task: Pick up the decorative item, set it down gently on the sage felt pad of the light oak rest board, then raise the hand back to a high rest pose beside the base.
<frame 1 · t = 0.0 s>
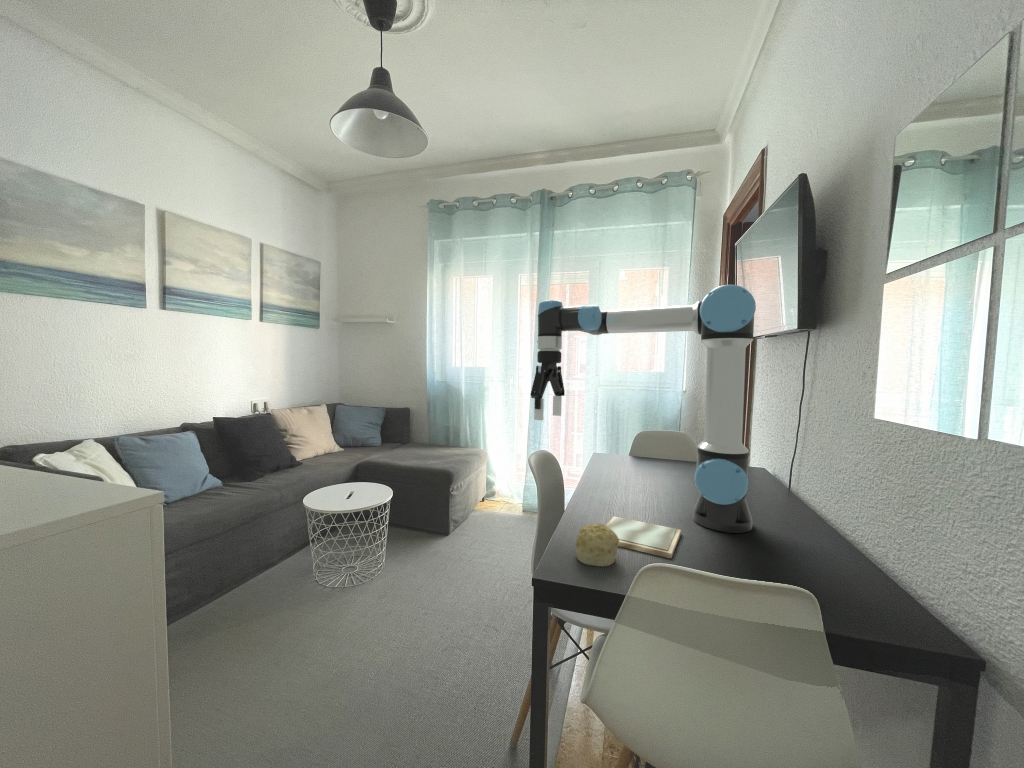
hand: (548, 417, 127), 28 cm above the table, fingers open, 13 cm apart
rest board: (639, 537, 104), on the table
decorative item: (596, 559, 93), on the table
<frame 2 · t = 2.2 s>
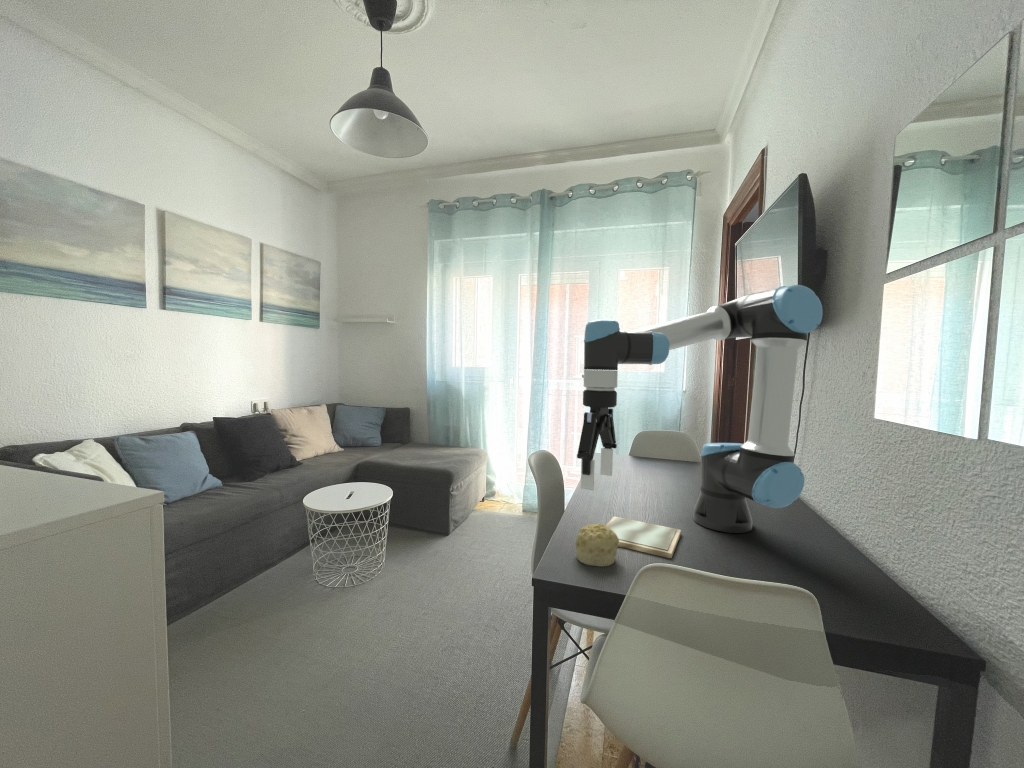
hand: (597, 481, 92), 18 cm above the table, fingers open, 13 cm apart
nothing on the table moved.
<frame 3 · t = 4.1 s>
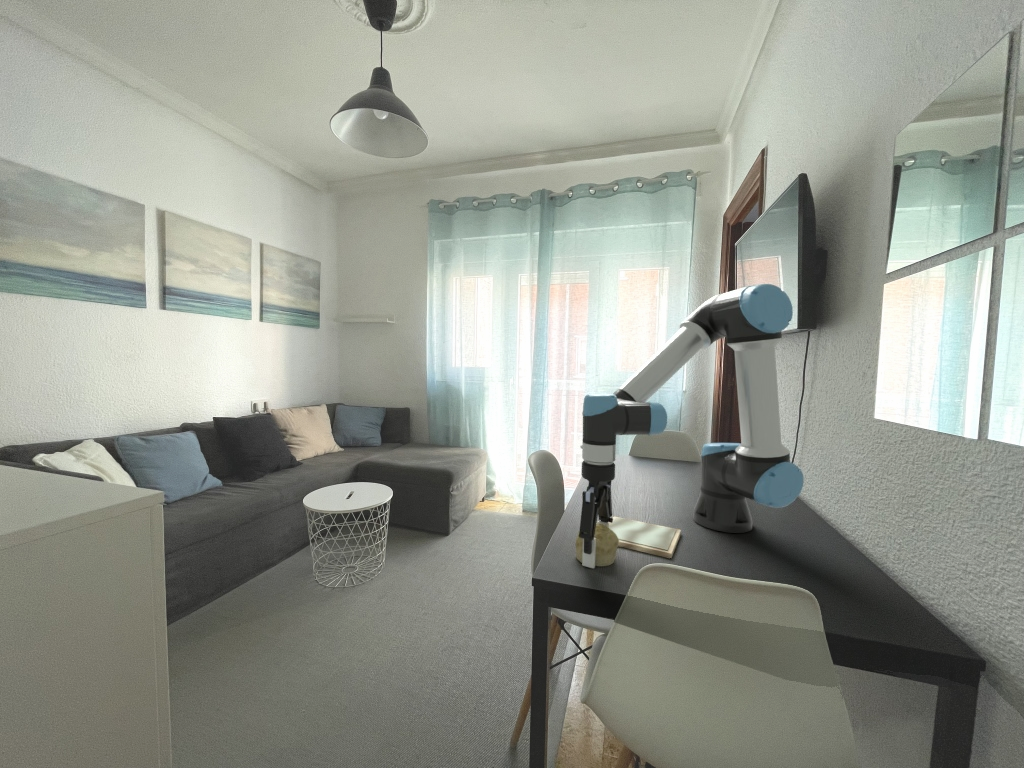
hand: (595, 557, 93), 0 cm above the table, fingers closed on decorative item, 9 cm apart
decorative item: (595, 559, 92), on the table, touching gripper
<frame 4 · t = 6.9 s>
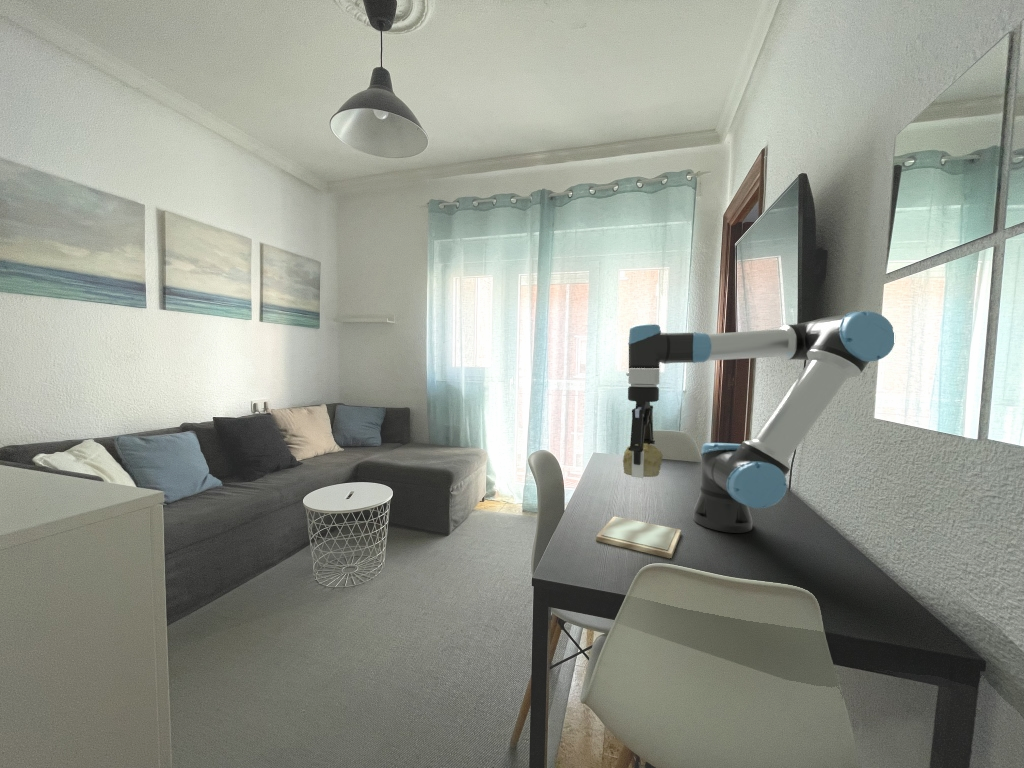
hand: (641, 472, 103), 17 cm above the table, fingers closed on decorative item, 9 cm apart
decorative item: (641, 474, 103), point 17 cm above the table, touching gripper
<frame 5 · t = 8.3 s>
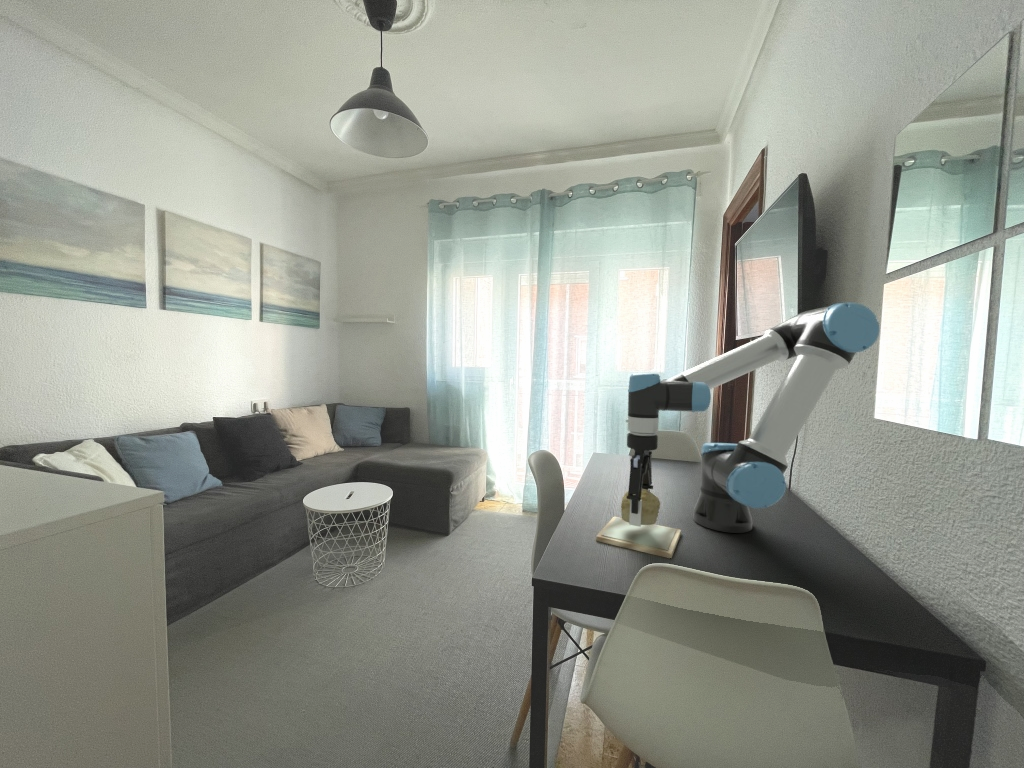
hand: (639, 518, 104), 5 cm above the table, fingers closed on decorative item, 9 cm apart
decorative item: (639, 520, 104), point 5 cm above the table, touching gripper
when the fingers open (2 cm above the table, at t = 9.3 s): decorative item stays where it is, resting on rest board.
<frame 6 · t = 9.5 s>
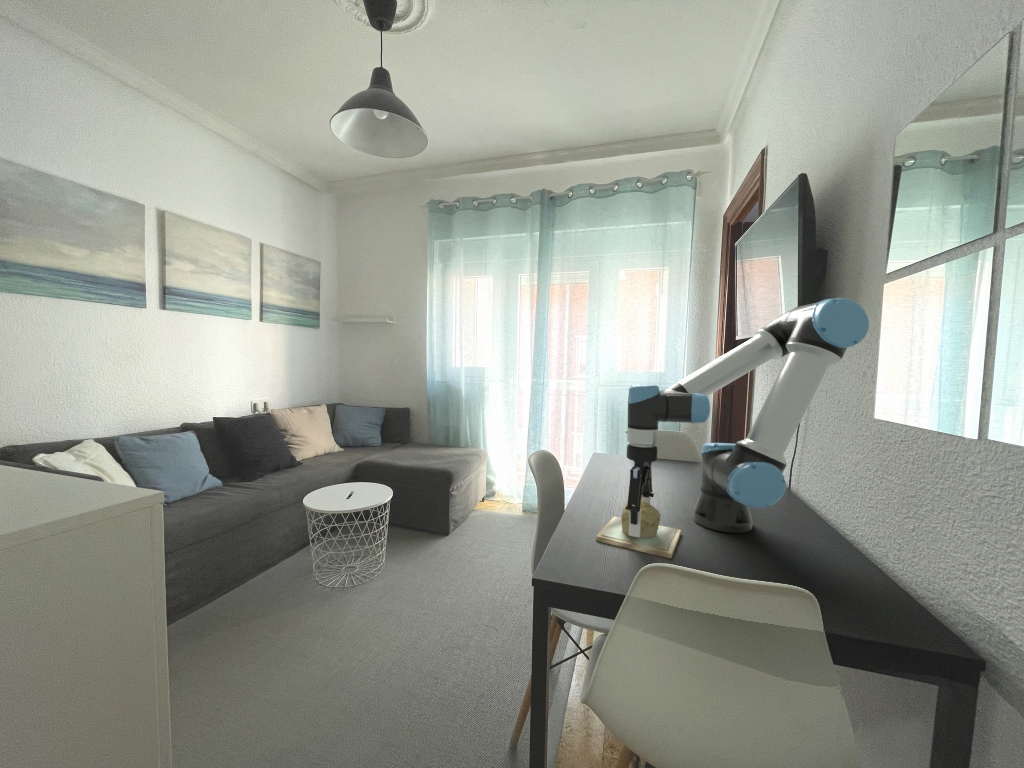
hand: (639, 528, 104), 2 cm above the table, fingers open, 11 cm apart
decorative item: (639, 532, 104), point 1 cm above the table, touching rest board
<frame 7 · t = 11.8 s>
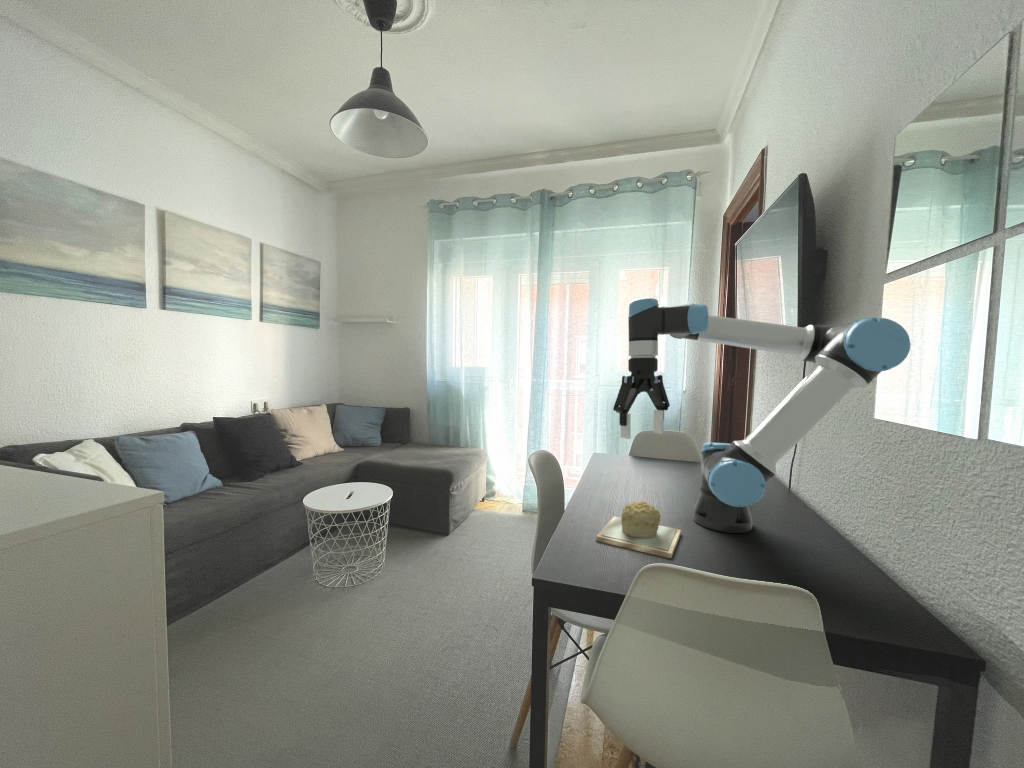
hand: (642, 435, 109), 26 cm above the table, fingers open, 13 cm apart
nothing on the table moved.
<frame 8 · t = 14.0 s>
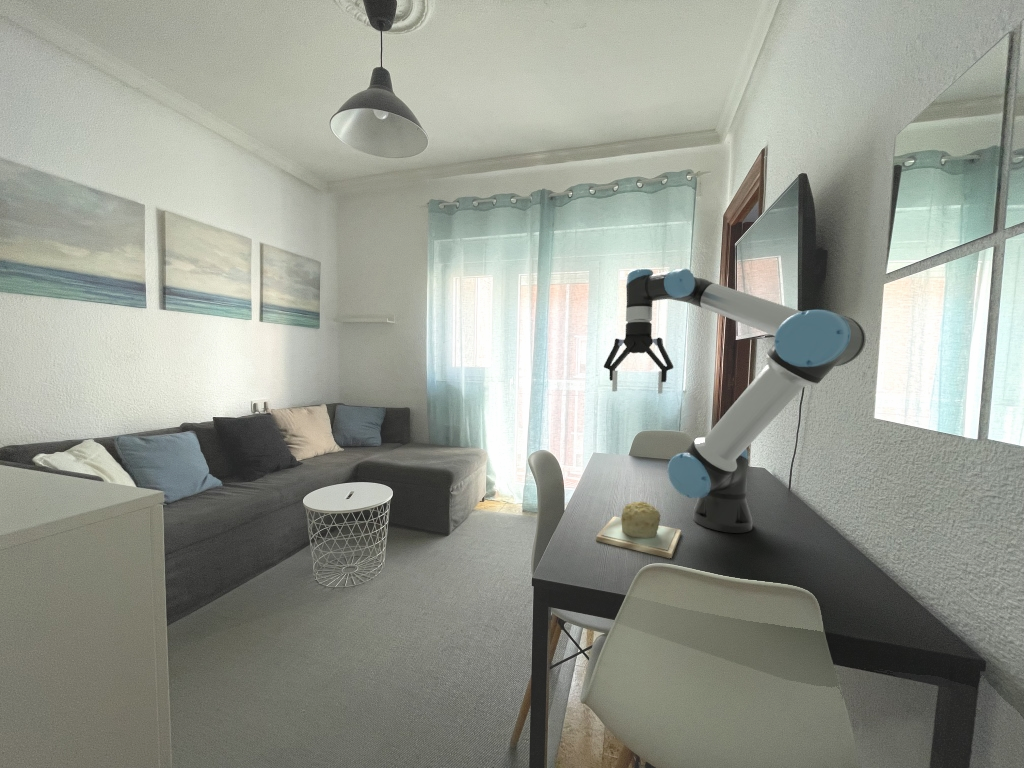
hand: (636, 392, 122), 37 cm above the table, fingers open, 13 cm apart
nothing on the table moved.
at the end: decorative item inside the target area on the rest board (0.0 cm from its centre), point 1.2 cm above the rest board's base; decorative item touching rest board; the gripper is holding nothing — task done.
